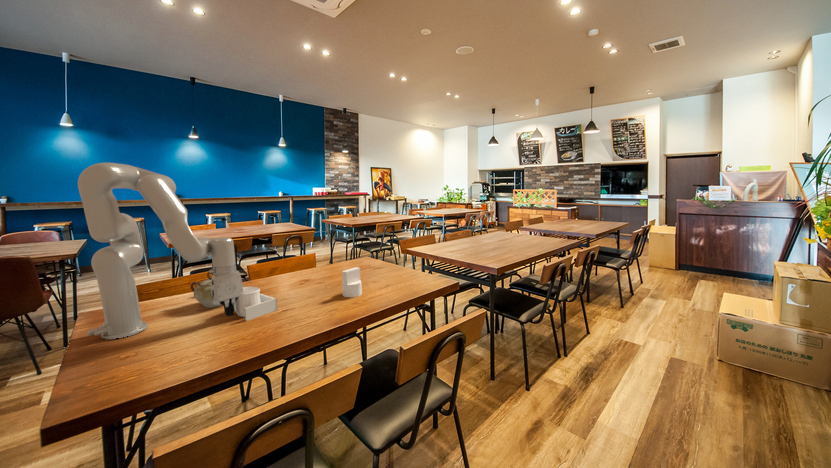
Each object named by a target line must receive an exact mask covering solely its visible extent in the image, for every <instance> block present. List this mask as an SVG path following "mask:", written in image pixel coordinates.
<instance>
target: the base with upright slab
mask: <svg viewBox="0 0 831 468" xmlns="http://www.w3.org/2000/svg"><path fill="white" fill-rule="evenodd" d="M341 275H342V276H341V277H342V281H341V285H342V286H341V288H342V296H343V297H344V298H357V297H360V296H361V295H362V294H363V287H362V285H363V284H362V280H361V268H360V267H352V268H349V269H345V270H342V271H341Z"/></svg>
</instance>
